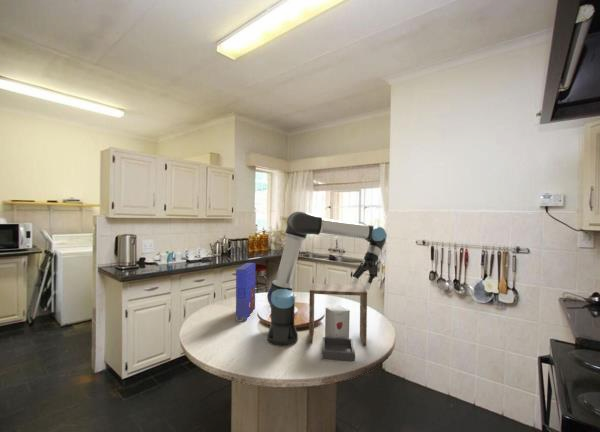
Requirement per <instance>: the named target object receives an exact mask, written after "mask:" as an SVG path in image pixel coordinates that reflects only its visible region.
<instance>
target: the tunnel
mask: <svg viewBox="0 0 600 432" xmlns="http://www.w3.org/2000/svg"><path fill="white" fill-rule="evenodd" d="M364 286H365V284H357V285H351V284H349V283H348V284H345V283H344V284H342V283H320V282H319V283H316V282H312V283H311V284H310V287H309V300H308V301H309V303H308V304H309V305H308V308H309V310H308V315H309V316H308V319H309V321H308V344H313V340H314V335H315V334H314V333H315V295H336V296H337V295H338V296H360V297H359V298H360V299H359V300H360V302H359V336H360V340H361V343H362V347H367V336H368V335H367V331H368V330H367V328H368V325H367V324H368V321H367V319H368V291H367V289H366V288H365V287H364Z"/></svg>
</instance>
